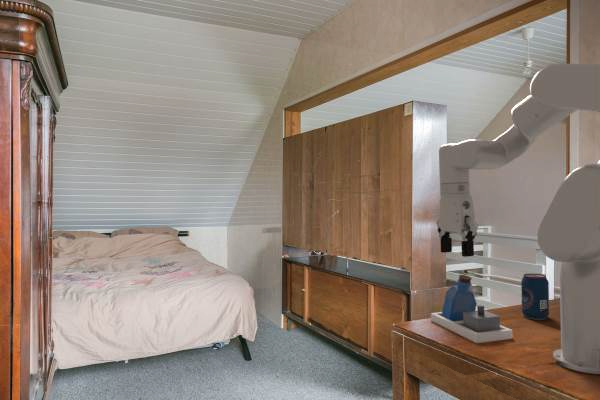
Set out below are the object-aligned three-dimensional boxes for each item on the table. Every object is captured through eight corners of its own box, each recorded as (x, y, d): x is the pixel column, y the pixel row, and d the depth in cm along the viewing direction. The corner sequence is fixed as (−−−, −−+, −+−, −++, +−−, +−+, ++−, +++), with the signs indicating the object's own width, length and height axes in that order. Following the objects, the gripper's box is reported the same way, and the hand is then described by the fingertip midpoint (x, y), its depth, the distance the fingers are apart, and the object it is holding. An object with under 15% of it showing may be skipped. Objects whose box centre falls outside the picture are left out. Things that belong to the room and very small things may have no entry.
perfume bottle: (464, 315, 126) (473, 274, 123) (472, 325, 119) (481, 282, 117) (442, 312, 126) (450, 271, 123) (448, 322, 120) (457, 279, 117)
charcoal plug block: (499, 336, 110) (499, 308, 110) (478, 339, 109) (477, 310, 109) (484, 329, 116) (483, 302, 116) (463, 332, 115) (462, 304, 115)
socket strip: (512, 342, 109) (512, 330, 109) (476, 347, 106) (476, 334, 106) (462, 320, 128) (462, 309, 128) (431, 323, 126) (430, 313, 126)
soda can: (516, 314, 133) (515, 273, 132) (538, 313, 134) (537, 272, 134) (532, 321, 126) (531, 278, 126) (555, 319, 127) (554, 276, 127)
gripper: (487, 189, 114) (490, 257, 114) (448, 190, 131) (450, 250, 131) (461, 189, 112) (464, 259, 112) (425, 191, 129) (427, 251, 129)
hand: (456, 254), depth 122 cm, fingers open, 9 cm apart
